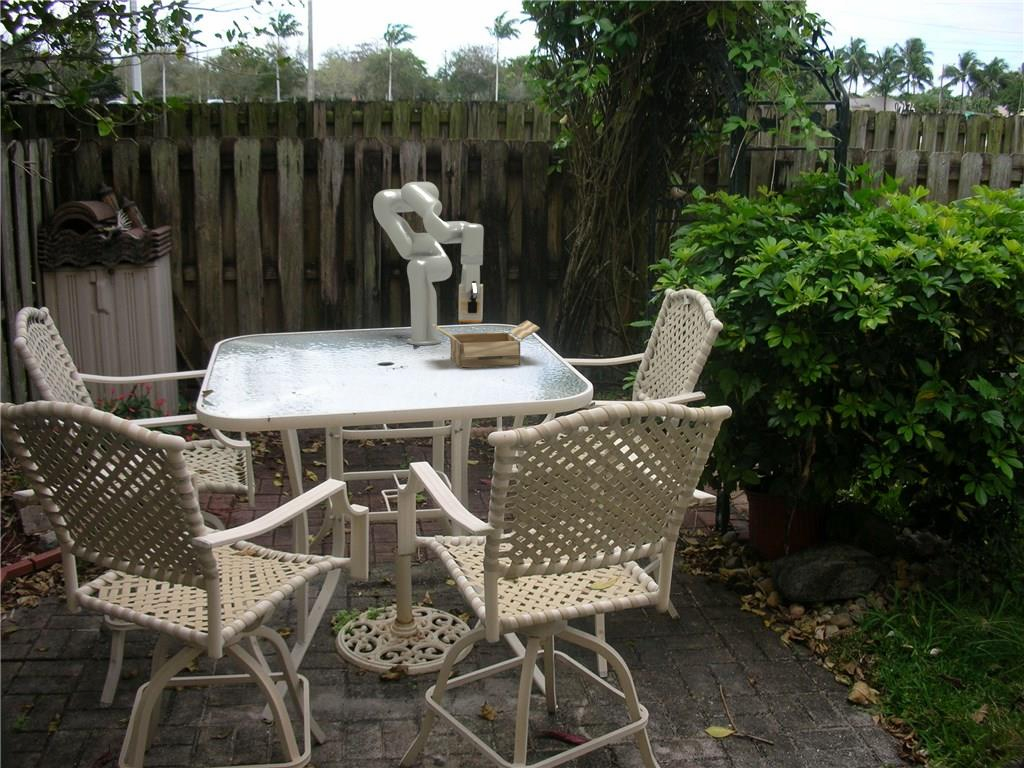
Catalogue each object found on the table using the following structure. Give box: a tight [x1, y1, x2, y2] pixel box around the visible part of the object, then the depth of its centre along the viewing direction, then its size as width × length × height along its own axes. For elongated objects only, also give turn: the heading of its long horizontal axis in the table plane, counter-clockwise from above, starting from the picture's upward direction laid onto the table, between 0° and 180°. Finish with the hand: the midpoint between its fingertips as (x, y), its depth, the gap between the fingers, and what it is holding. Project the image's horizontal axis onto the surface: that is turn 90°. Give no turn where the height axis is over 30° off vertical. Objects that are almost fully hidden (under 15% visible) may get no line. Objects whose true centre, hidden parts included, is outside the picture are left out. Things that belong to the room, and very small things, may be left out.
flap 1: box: [431, 323, 458, 342], centre depth 317 cm, size 16×1×7 cm
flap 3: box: [463, 341, 519, 358], centre depth 311 cm, size 1×18×5 cm, turn 103°
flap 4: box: [509, 319, 541, 341], centre depth 323 cm, size 16×1×7 cm
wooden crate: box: [449, 332, 521, 369], centre depth 321 cm, size 17×20×8 cm
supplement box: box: [458, 282, 484, 323], centre depth 338 cm, size 8×5×13 cm, turn 86°
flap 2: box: [452, 331, 506, 335], centre depth 330 cm, size 1×18×5 cm, turn 104°
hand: (470, 310), depth 339 cm, fingers closed on supplement box, 6 cm apart
